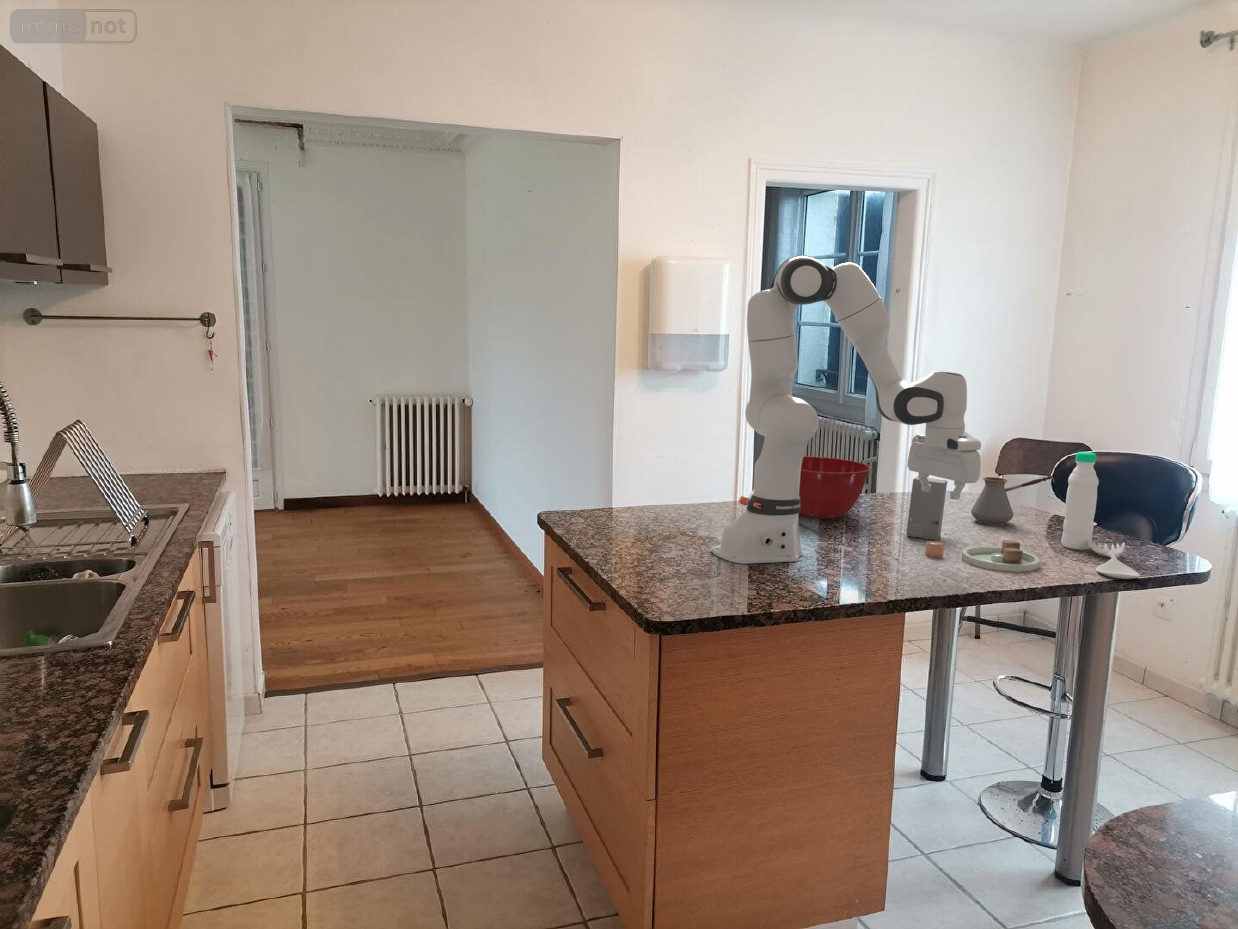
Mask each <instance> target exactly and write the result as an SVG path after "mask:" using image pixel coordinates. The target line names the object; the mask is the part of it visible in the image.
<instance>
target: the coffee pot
mask: <svg viewBox="0 0 1238 929" xmlns="http://www.w3.org/2000/svg"><path fill="white" fill-rule="evenodd" d="M982 480H983V481H984V484H985V485H984V487H983V488H982V490H981V493H980V494H979V496H978V497H977V499H976V501H975V502H974V505H973V507H972V508H971V511H970V514H971V515H972V517H973V518H974V519H975V520H976V522H977V521H978V522H977V523H979V522H980V524H982V523H983V525H988V526H1004V525H1006V523H1008V522H1010V521H1011V520H1012V519H1013V517H1014V511H1013V509H1012V505H1011V503H1010V500H1009V497H1008V494H1007V492H1010V491H1013V490H1017V489H1020V488H1023V487H1029V486H1032V485H1036V484H1039V483H1042V482H1046V481H1047V480H1052V481H1053V483H1054V484H1055V479H1054V476H1053V475H1050V476H1047V477H1045V476H1043V477H1042V478H1038V479H1037V478H1036V479H1033V480H1030V481H1028V482H1024V483H1021V484H1017V485H1014V486H1010V487H1007V488H1005V485H1006V483H1007V482H1008V479H1005V478H1002V477H993V476H992V477H989V476H987V477H986V476H985V477H983V478H982Z"/></svg>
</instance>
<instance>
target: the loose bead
mask: <svg viewBox="0 0 1238 929" xmlns="http://www.w3.org/2000/svg"><path fill="white" fill-rule="evenodd" d="M925 543H926V544H925V556H927V557H930V558H942V557H943V556H944V550H945V549H944V548H945V547H944V546H945V544H944V543H942V542H939V541H935V540H934V541H933V540H932V541H931V540H930V541H926V542H925Z"/></svg>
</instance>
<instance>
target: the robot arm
mask: <svg viewBox="0 0 1238 929" xmlns="http://www.w3.org/2000/svg"><path fill="white" fill-rule="evenodd" d="M819 302H824V303H825V304H827V306H828V307H829V309H830V310H831V312H832V314H833V316H834V317H835V320H836V321H837V323H838V325H839V327H840V329H841V330H842V331H843V334H845V336H846V338H847V339H848V340H849V342H850V343H851V344H852V346H853V348H854V349H855V350H856V352H857V353H858V354H859V356H860V358H861V361H862V364H863V365H864V367H865V368H866V371H867V373H868V376H869V377H870V379H871V382H872V383H873V386H874V390H875V402H876V403H875V404H876V406H877V407H876V408H877V410H878V412H879V413H880V415H881V416H882V417H883V418H885V419H886V420H889V421H891V422H897V423H900V424H904V425H906V426H907V425H908V426H915V425H922V424H925V429H924V430H925V431H924V432H925V433H924V434H920V433H918V434H916V435H914V437H913V438H912V440H911V445H910V448H909V453H908V459H907V464H906V465H907V468H908V470H909V471H911V472H914V473H918V477H919V480H920V482H921V484H922V485H921V491H923V492H930V491H931V485H930V484H929V482H928V479H927V478H930V476H932V477H935V478H942V479H944V480H950V481H954V482H953V485H954V486H955V487H954V489H953V490H949V498H950V499H951V500H955V501H956V500H960V498H961V493H962V491H963V489H964V488H965V487H966V484H975V483H977V482H978V481H979V479H980V475H981V462H982V461H981V454H980V452H978V451H980V450H981V448H982V443H981V441H980V440H979V439H977V438H975V437H974V436H972V435H971V434H970V433H968V432H966V431H965V430H966V424H965V414H966V411H967V405H968V386H967V380H966V378H965V377H964V375H962V374H960V373H958V372H952V371H947V370H942V369H934V370H933V371H931V373H929V374H928V375H926V376H925V377H923V378H920V379H918V380H916V381H912V382H910V383H909V382H908V381H906V380H905V379H904V378H903V377H901V375H900V374H899V372H898V370H897V368H896V365H895V364H894V362H893V359H892V357H891V356H890V353H889V351H888V349H887V345H886V338H887V334H888V332H889V330H890V326H891V320H890V316H889V313H888V310H887V308H886V305H885V303H884V301H883V299H882V297H881V295H880V293H879V291H878V290H877V288H876V287H875V285H874V283H873V282H872V281H871V279H870V277H869V276H868V275H867V274H866V272H865V271H864V270H863V269H862V268H861V267H860V265H858V264H856V263H854V262H844V263H840V264H838V265H836V266H834V267H830V266H828V265H827V264H825V263H824V262H822V261H821V260H819V259H817V258H814V257H812V256H810V255H806V254H798V255H795V256H791V257H789V258H787V259H785V260H784V261H783V262H782V263H781V264H780V266H779V267H778V268H777V271H776V273H775V275H774V278H773V281H772V283H771V286H770V287H769V289H764V290H761V291H758V292H756V293H755V294H753V295H752V296H751V297H750V298H749V301H748V303H747V311H746V312H747V314H746V315H747V316H746V331H747V342H748V344H747V345H748V352H749V360H750V372H751V375H750V377H751V378H750V391H749V400H748V402H747V404H746V407H745V411H744V412H745V413H744V414H745V420H746V421H747V422H746V423H747V424H748V425H749V426H750V427H751V429H752V430H754V431H755V432H756V433H757V434H759V435H761V436H762V437H763V436H764V441H763V445H762V449H761V452H760V455H759V457H758V458H757V460H756V461H755V464H754V475H753V477H754V478H753V493H752V494H751V496H750V498H748V497H746V496H744V495H742V496H739V498H738V503H739V504H740V505H743V506H746V510H745V511H743V512H742V513H741V514H740V515H739V516H738V517H736V518H735V519H734V520H732V521H731V522H730V523H729V524H727V525H726V526H725V527H724V530H723V532H722V536H721V542H720V544H718V545H713V546H712V547H711V553H713V554H714V556H717V557H719V558H720V559H723V560H726V561H728V562H731V563H732V562H733V563H737V564H743V565H745V564H746V565H747V564H762V563H763V564H765V563H784V562H785V563H786V562H787V563H788V562H798V561H799V558H800V557H802V555H803V554H804V553H803V549H802V544H801V539H800V529H799V527H800V526H799V517H800V516H799V513H800V502H801V498H800V497H799V489H800V474H801V466H802V461H803V457H804V456H805V453H806V449H807V446H808V445H809V441H811V438H813V437H814V435H815V434H816V432H817V430H818V427H819V416H818V413H817V411H816V409H815V408H814V407H813V406H812V405H810V404H809V403H808V402H807V401H805V400H804V399H802V398H799V397H795V396H794V394H793V384H794V378H795V375H796V373H797V371H798V368H799V360H798V352H797V351H798V349H797V341H796V340H797V339H796V334H795V333H796V332H795V324H794V322H795V321H794V320H795V319H794V316H795V311H796V309H797V307H798V306H799V305H801V306H802V305H804V306H805V305H811V304H815V303H819Z"/></svg>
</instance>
